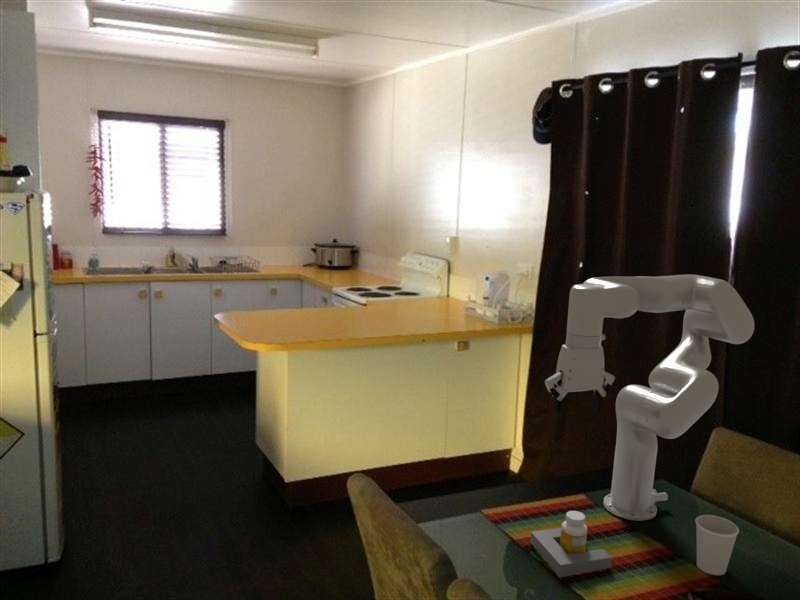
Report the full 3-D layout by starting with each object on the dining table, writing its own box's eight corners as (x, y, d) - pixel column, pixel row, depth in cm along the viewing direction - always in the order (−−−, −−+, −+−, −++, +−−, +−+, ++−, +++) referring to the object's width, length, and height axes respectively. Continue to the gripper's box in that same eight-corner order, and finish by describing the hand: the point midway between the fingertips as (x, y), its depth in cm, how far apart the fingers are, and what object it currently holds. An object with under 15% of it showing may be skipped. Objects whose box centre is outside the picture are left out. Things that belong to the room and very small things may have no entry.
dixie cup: (711, 553, 147) (717, 512, 145) (742, 575, 139) (748, 532, 137) (681, 559, 144) (686, 517, 142) (710, 582, 136) (716, 537, 135)
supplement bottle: (555, 549, 146) (559, 508, 144) (579, 549, 147) (583, 508, 145) (563, 563, 141) (567, 521, 139) (588, 563, 142) (592, 521, 140)
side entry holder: (577, 537, 151) (578, 525, 151) (610, 570, 139) (611, 557, 139) (530, 543, 148) (531, 531, 148) (559, 578, 136) (560, 565, 135)
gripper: (607, 334, 153) (601, 404, 157) (540, 338, 148) (535, 410, 152) (627, 342, 146) (620, 416, 149) (557, 347, 141) (551, 423, 144)
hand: (577, 413), depth 151 cm, fingers open, 9 cm apart
